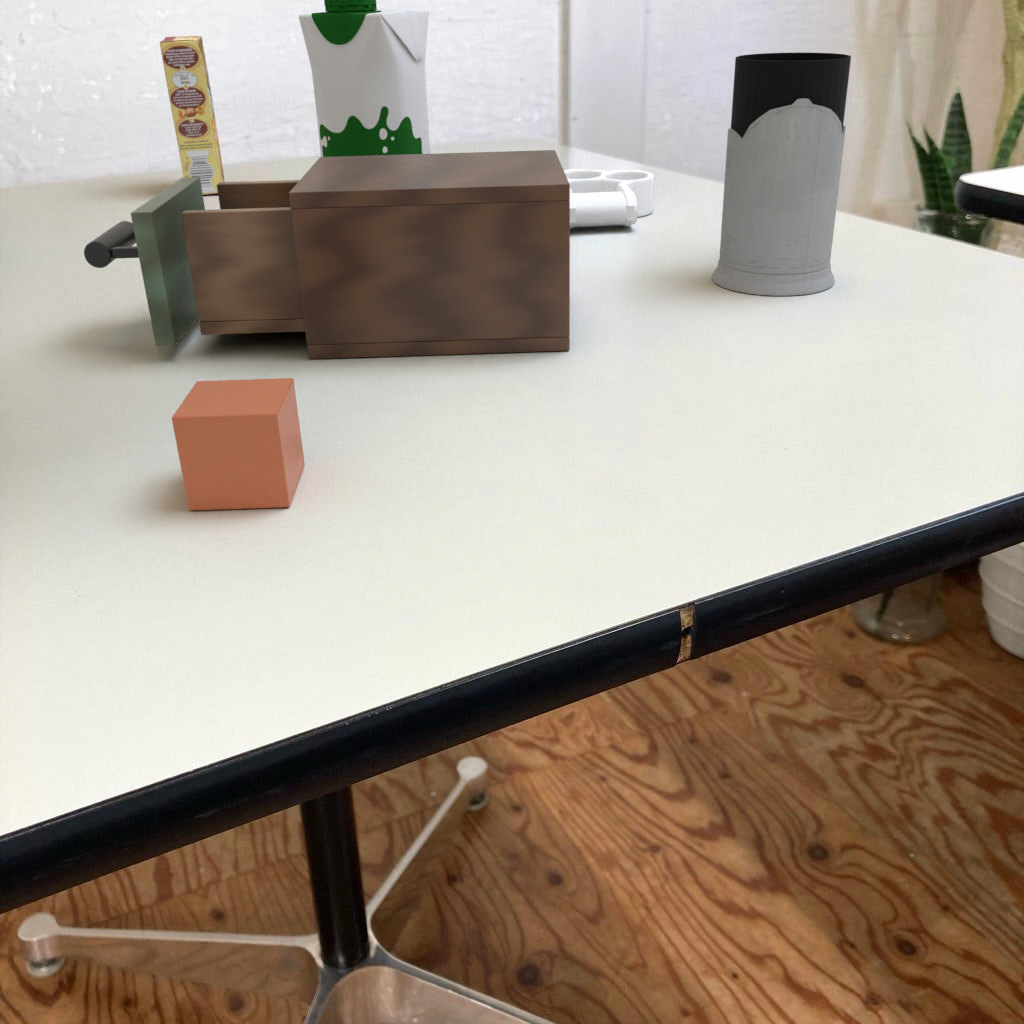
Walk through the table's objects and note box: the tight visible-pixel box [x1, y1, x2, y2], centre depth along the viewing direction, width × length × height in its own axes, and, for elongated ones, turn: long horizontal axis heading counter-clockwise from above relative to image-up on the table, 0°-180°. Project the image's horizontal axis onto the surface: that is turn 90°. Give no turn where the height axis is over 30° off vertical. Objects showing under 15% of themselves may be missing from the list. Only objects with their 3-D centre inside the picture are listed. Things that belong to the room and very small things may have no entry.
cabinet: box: [289, 149, 571, 360], centre depth 66 cm, size 16×13×10 cm
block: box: [171, 377, 305, 511], centre depth 46 cm, size 4×4×4 cm
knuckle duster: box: [563, 168, 655, 230], centre depth 96 cm, size 3×18×15 cm
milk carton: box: [298, 0, 431, 157], centre depth 87 cm, size 9×9×20 cm
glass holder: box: [711, 52, 852, 297], centre depth 75 cm, size 9×14×15 cm, turn 179°
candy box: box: [159, 35, 225, 196], centre depth 112 cm, size 9×4×15 cm, turn 14°
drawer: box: [83, 177, 305, 347], centre depth 66 cm, size 19×12×8 cm, turn 92°
